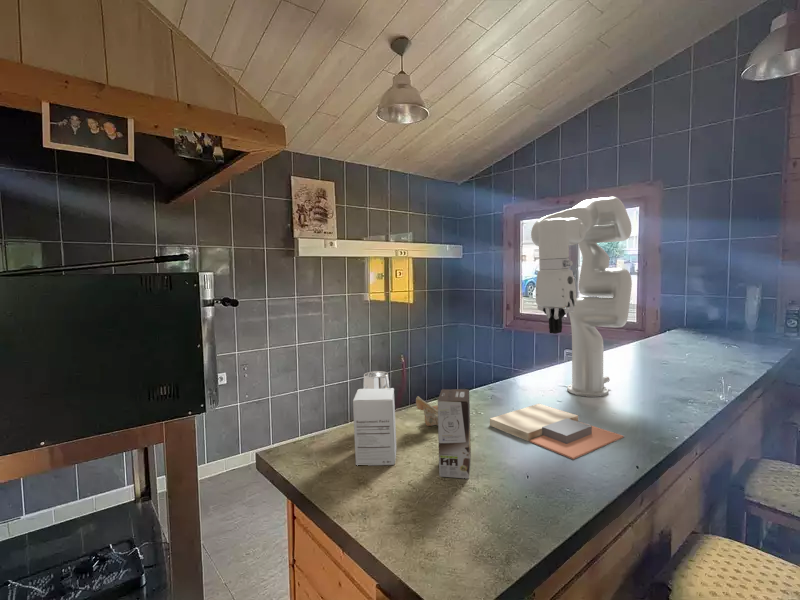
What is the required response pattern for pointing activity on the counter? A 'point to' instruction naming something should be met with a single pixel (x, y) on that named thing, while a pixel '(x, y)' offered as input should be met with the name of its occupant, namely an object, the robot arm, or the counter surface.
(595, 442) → the mat
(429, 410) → the oil lamp
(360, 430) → the supplement box
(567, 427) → the tile
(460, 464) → the coffee box
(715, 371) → the counter surface
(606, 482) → the counter surface
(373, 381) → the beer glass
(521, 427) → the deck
